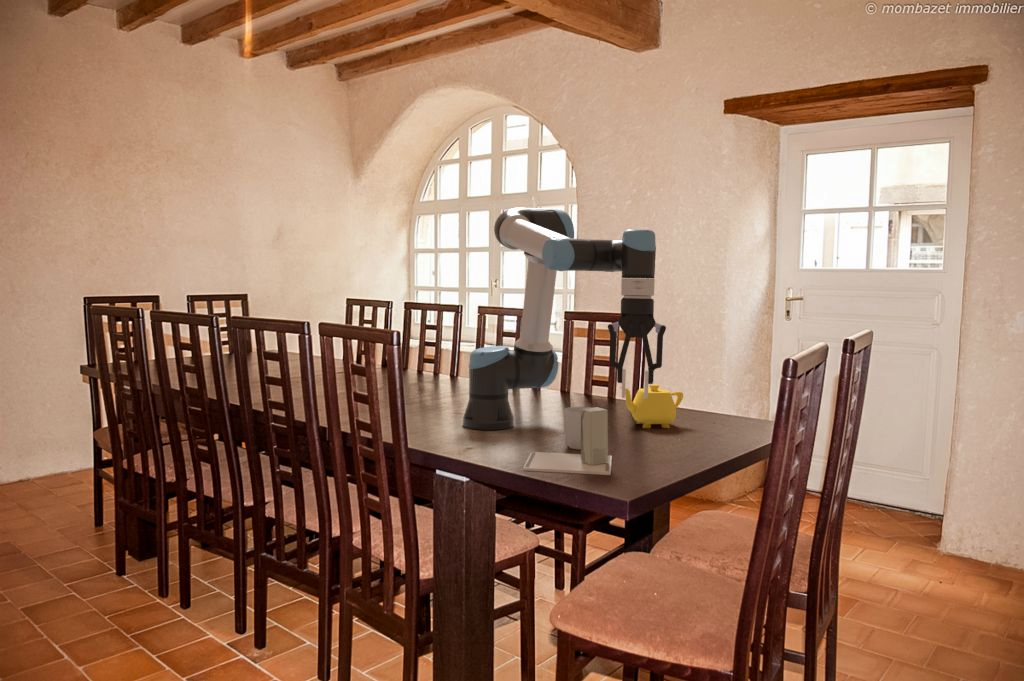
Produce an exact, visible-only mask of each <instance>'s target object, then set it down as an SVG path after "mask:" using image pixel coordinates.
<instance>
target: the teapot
mask: <svg viewBox="0 0 1024 681" xmlns="http://www.w3.org/2000/svg"><path fill="white" fill-rule="evenodd" d="M619 388H620V389H621V390H622V386H619ZM631 396H632V395H631V391H630V390H629V388H626V387H625V405H626V408H627V409H628V411H629V412H631V415H632V418H633V419H634V421H635V422H636V424H637V425H642V429H652V428H651V427H652V425H661V428H663V429H670V428H671V426H670V424H673V423H674V421H675V419H677V418H676V417H677V408H678V407H679V405H680V404H681V403H682V401H683V398H684V393H683V391H672V392H670V391H669V390H667V389H664V388H660V385H659V384H655V383H653V384H649V387H648V399H644V388H639V389H638V390H637V392H636V394H635V396H634V399H633V400H632V397H631ZM673 396H677V398H676V400H675V401H674V399H673Z"/></svg>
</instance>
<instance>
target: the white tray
mask: <svg viewBox="0 0 1024 681" xmlns="http://www.w3.org/2000/svg"><path fill="white" fill-rule="evenodd" d="M612 458H613V456H612V455H608V462H606V463H601V464H596V465H589V464H587V463H584V462H582V461H581V453H564V452H561V453H560V452H543V451H541V452H540V451H531V452H530V454H529V456H528V458H527V460H526V462H525V463H524V466H523V467H522V471H525V472H528V471H529V472H544V473H545V472H547V473H549V472H550V473H564V474H565V473H566V474H581V475H583V474H584V475H585V474H586V475H601V476H611V473H612V461H613V459H612Z"/></svg>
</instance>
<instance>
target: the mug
mask: <svg viewBox="0 0 1024 681" xmlns="http://www.w3.org/2000/svg"><path fill="white" fill-rule="evenodd" d="M587 408H592V407H590V406H570V407H565V408H564V414H563V417H564V418H563V420H564V422H563V427H564V435H565V441H566V444H567V446H568V447H569V448H570V449H573V450H580V451H581V409H587Z"/></svg>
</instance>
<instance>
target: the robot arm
mask: <svg viewBox="0 0 1024 681" xmlns="http://www.w3.org/2000/svg"><path fill="white" fill-rule="evenodd" d="M494 223H495V224H494V226H493V231H494V232H493V233H494V236H495V239H496V240H497V242H498V243H499V244H500V245H501V246H503V247H505V248H508V249H510V250H515V251H517V250H521V251H523V255H524V256H525V257H526V258H527V260H528V261H527V271H526V280H525V289H524V299H523V308H522V318H521V326H520V336H519V338H518V339H517V340H515V341H514V345H513V350H510V348H509V347H508V346H507V345H496V346H495V345H491V346H484V347H480V348H476V349H473V350H472V351H471V352H470V354H469V363H468V368H469V370H468V371H469V372H468V373H469V374H468V375H469V376H468V379H469V380H468V385H469V386H468V402H467V405H466V408H465V411H464V414H463V417H462V425H463V427H465V428H466V429H467V428H468V429H471V430H472V429H473V430H480V431H482V430H483V431H499V430H506V429H510V428H513V427H514V424H515V422H514V421H515V418H514V415H513V411H512V408H511V405H510V402H509V390H519V389H540V388H546V387H549V386H550V385H552V384H553V382H554V381H555V380H556V379H557V376H558V371H559V361H558V359H559V358H558V354H557V352H556V351H555V350H554V348H553V345H552V344H551V342H550V341H549V339H550V331H551V330H550V329H551V324H552V323H551V321H552V314H553V306H554V299H555V298H554V297H555V287H556V281H557V273H558V272H565V271H567V272H568V271H571V272H572V271H574V272H575V271H576V272H580V271H582V272H606V273H609V272H610V273H614V272H621V287H620V288H621V290H620V291H621V292H620V294H621V296H623V297H622V298H621V299H620V315H619V318H618V321H616V322H612V323H609V324H608V325H607V330H608V332H609V335H610V336H609V365H610V367H613V368H615V369H616V371H617V373H616V374H617V375H616V376H617V377H616V381H617V383H618V384H621V387H622V389H621V399H626V396H625V388H626V372H627V369H626V368H624V364H625V359H626V357H627V352H628V350H629V344H630V342H631V338H639V339H642V344H643V348H644V354H645V358H646V362H647V363H646V364H647V369H646V368H645V369H644V388H643V389H644V399H648V388H649V385H652V384H654V373H655V370H657V369H660V368H662V367H663V349H664V348H663V344H664V343H663V342H664V335H665V332H666V330H667V326H666V325H665V324H660V323H658V322H656V319H655V316H654V315H655V314H654V311H655V309H654V308H655V307H654V306H655V300H654V298H652V297H654V295H655V274H656V272H655V271H656V252H657V251H656V250H657V246H656V245H657V244H656V232H654V231H653V230H651V229H627V230H624V232H623V233H622V239H591V238H589V239H585V238H584V239H583V238H575V227H574V224H573V221H572V218H571V217H570V215H569V214H568V213H567V212H566V211H564V210H562V209H556V208H545V207H544V208H541V207H540V208H539V207H538V208H537V207H534V208H533V207H523V206H521V207H513V208H509V209H507V210H505V211H503V212H501V214H499V215H498V217H497V218H496V220H495V222H494ZM619 327H620V329H621V330H622V332H623V334H624V335H625V336H624V340H623V344H622V348H621V351H620V354H619V355H620V356H619V359H618V361H616V335H617V334H616V333H617V332H618V328H619ZM654 328H655V333H656V334H657V335H656V355H655V356H656V358H655V362H653V358H652V353H651V348H650V343H649V338H648V335H649V333H651V331H652V330H653V329H654Z"/></svg>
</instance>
